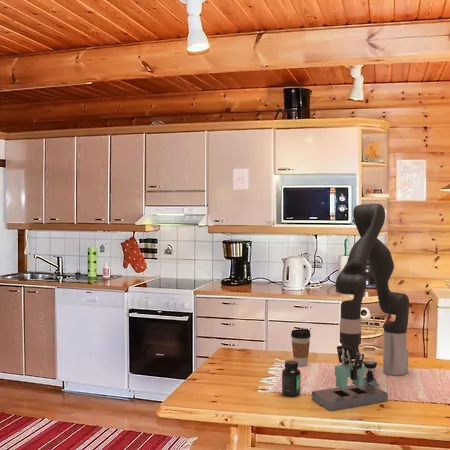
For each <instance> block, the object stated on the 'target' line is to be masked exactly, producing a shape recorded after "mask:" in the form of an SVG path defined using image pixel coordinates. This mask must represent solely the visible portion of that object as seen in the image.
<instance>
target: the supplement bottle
mask: <svg viewBox="0 0 450 450" xmlns="http://www.w3.org/2000/svg"><path fill="white" fill-rule="evenodd" d="M301 374H302V373H301V370H300V369H299V366H298V362H297V361H294V360H285V362H284V368H283V369H282V370H281V394H282V395H283V396H285V397H286V398H287V397H288V398H296V396H297V397H299V396H300V395H301V387H302V386H301V385H302V384H301V383H302V382H301V381H302V379H301V376H302V375H301Z"/></svg>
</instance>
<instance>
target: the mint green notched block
mask: <svg viewBox="0 0 450 450" xmlns="http://www.w3.org/2000/svg"><path fill="white" fill-rule="evenodd" d="M354 364H355V363H353V366H354ZM358 366H359V364H358ZM334 376H335V386H336V387H335V388H340V389H342V390H343V389H347V386H348V378H350V377H351V367H350V363H349V364H344V365H342V364H338V365H334ZM364 377H365V365H364V364H363V363H362V368H361V369H358V370H357V379H356V380H351V382H352V384H351V385H356V386H358V387H362V386H364Z"/></svg>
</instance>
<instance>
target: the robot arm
mask: <svg viewBox="0 0 450 450" xmlns="http://www.w3.org/2000/svg"><path fill="white" fill-rule="evenodd" d="M352 216H353V222H354V224H355V228H356V230H357V231H358V232H357V233H358V235H359V237H360V238H359V239H358V240H357V241H356V242H355V243H354V244H353V245H352V247H351V249H350V251H349V254H348V257H347V261H346V263H345V265H344V267H343V268H342V270H341V271H340V273H339V274H338V275H337V277H336V280H335V289H336V290H337V292H338V293H339V294H343V295H353V298H352V299H350V300H343V301H342V302H341V303H340V319H339V343H340V345H337V346H336V352H337V357H338V362H339V363H341V365H344V364H350V367H351V377H349V378H350V380H351V381H352V380H356V379H357V370H358V369H361V368H362V364H363V362H364V360H365V359H364V358H365V354H364V353H360V349H359V346H360V345H361V344H362V320H361V319H362V318H361V317H362V313H361V311H362V302H363V298H364V295H365V292H366V289H367V280H366V278H365V277H364V276H363V275H361V274H364V273H365V271H366V269H367V266H368V265H369V267H370V271H371V273H372V277H373V280H374V285H375V288H376V294H377V300H378V304H379V308H380V310H381V312H383V313H384V314H386V315H391V316H392V315H393V316H395V318H394V320H392V321H388V322H385V323H384V324H383V341H382V342H383V345H382V347H383V348H382V350H383V351H382V352H383V353H382V372H383V374H386V375H388V376H389V375H390V376H404V375H406V374H408V373H409V352H410V351H409V349H407V347H408V345H407V343H408V342H407V339H408V338H407V335H408V334H407V333H408V326H409V314H410V313H409V311H410V298H409V297H408V296H409V295H407V294H406V293H402V292H395V291H391V290H390V287H389V280H390V279H391V277H392V275H393V272H394V268H395V264H394V260H393V259H394V258H393V256H392V252H391V251H390V249H389V248H388V246H387V245H386V244H384V242H382V241H381V239H379V238H378V237H379V235H380V232H381V231H382V228H383V226H384V224H385V221H386V211H385V208H384V206H383V205H382V204H380V203H363V204H359V205H358V204H357V205H355V207H354V208H353V214H352ZM353 363H355V364H354V366H353ZM358 364H359V366H358Z"/></svg>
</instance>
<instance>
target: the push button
mask: <svg viewBox="0 0 450 450" xmlns="http://www.w3.org/2000/svg"><path fill="white" fill-rule="evenodd" d="M364 360H365V361H364ZM364 360H363V363H362V364H363V365H365V375H364V383H368V384H370V385H373V386H375V387H377V386H381V381H377V379H376V377H375V375H376V373H375V371H376V368H377V365H378V362H376V360H375V359H372V358H366V359H364Z"/></svg>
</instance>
